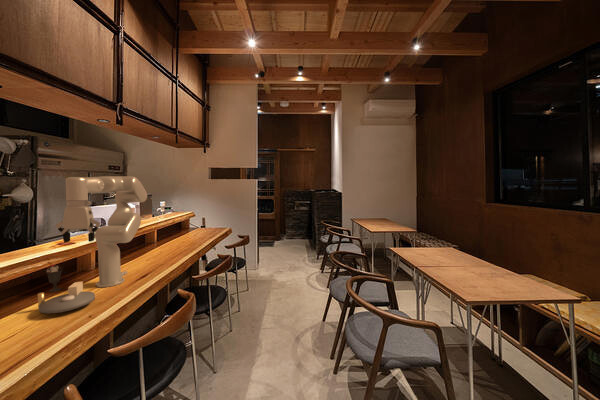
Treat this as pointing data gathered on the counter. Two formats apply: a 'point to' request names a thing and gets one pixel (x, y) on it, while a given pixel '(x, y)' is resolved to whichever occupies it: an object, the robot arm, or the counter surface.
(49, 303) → the disc
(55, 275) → the sundae
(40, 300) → the brown rounded oblong piece
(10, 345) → the counter surface
